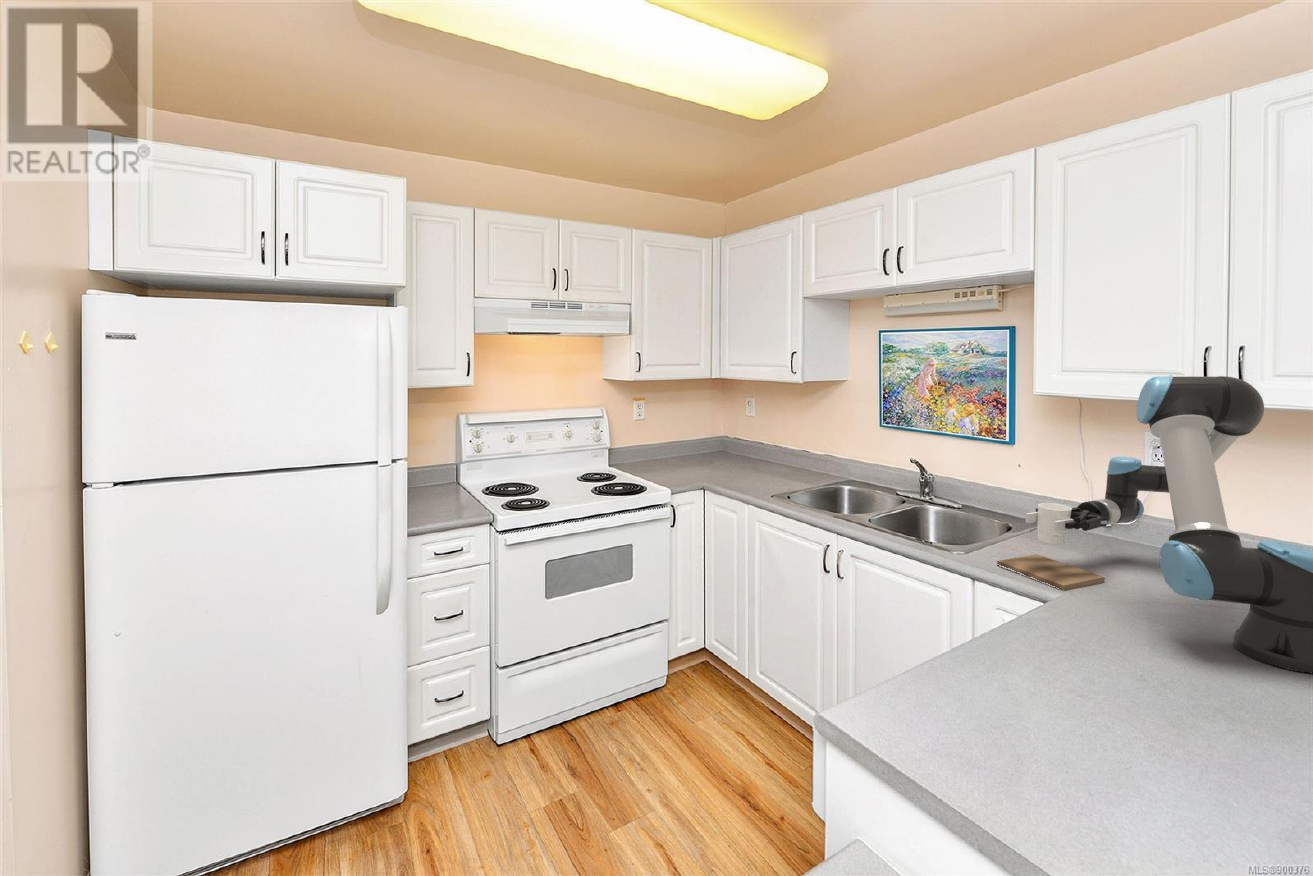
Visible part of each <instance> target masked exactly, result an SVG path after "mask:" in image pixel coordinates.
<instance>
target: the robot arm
mask: <svg viewBox="0 0 1313 876" xmlns="http://www.w3.org/2000/svg"><path fill="white" fill-rule="evenodd" d="M1138 395H1139V396H1138V400H1137V404H1136V405H1137V406H1136V419H1137V421H1138V422H1139V423H1140V424H1144V425H1147V424H1148V426H1149V431H1150V433H1151V435H1152V436H1154V437H1156V438H1159V441H1160V442H1159V443H1160V445H1161V446H1160V447H1161V452H1162V457H1163V463H1164V465H1163V466H1161V465H1147V464H1145V465H1144V464H1142V460H1141V459H1139V458H1136V457H1130V456H1128V457H1127V456H1114V457H1111V458H1110V460H1109V463H1108V466H1107V471H1106V474H1107V475H1106V486H1105V493H1104V494H1105V495H1104V498H1103V499H1102V498H1101V499H1095V500H1088V501H1084V502H1082V503H1081V502H1080V504H1078V506H1077V507H1071V508H1072V511H1071V517H1070V519H1065V520H1059V521H1054V529H1053V531H1062V530H1068V531H1069V530H1073V529H1075V530H1080V529H1081V530H1082V531H1084V532H1088V531H1091V530H1094V529H1097V528H1103V527H1104V528H1105V527H1107V526H1111V525H1117V524H1125V523H1126V524H1127V523H1129V522H1134V521H1136V520H1139V519H1140V518H1141V517H1142V516H1143V514H1144V512H1145V507H1144V504H1143V502H1142V501H1141V500H1140V499H1139V498H1138V494H1139V492H1154V493H1155V492H1157V493H1166V494H1167V493H1169V497H1170V498H1169V499H1170V503H1171V509H1172V516H1173V522H1174V526H1175V527H1174V528H1175V530H1174V531H1173V532H1172V533H1170V534H1169V535H1168V541H1166V542H1164V543H1163V544H1162V545H1161V546H1160V550H1159V556H1160V557H1159V567H1160V571H1161V573H1162V576H1163V578H1164V581H1165V583H1166V585H1167V586H1168V588H1170V589H1171V591H1172V592H1174V593H1176V594H1177V595H1178V596H1181V597H1187V598H1192V599H1198V600H1200V601H1218V602H1223V603H1224V602H1225V603H1227V602H1228V603H1235V604H1236V603H1237V604H1245V605H1249V610H1248V613H1247V614H1246V616H1245V617H1244V619H1243V621H1242V622H1241V624H1240V626H1239V627H1238V628H1237V629H1236V631H1234V634H1233V641H1232V644H1233V647H1235V649H1236V650H1238V651H1239V652H1241V653H1242V654H1244V655H1246V656H1248V657H1250V658H1252V659H1254V660H1257V661H1259V662H1262V663H1265V664H1268V665H1271V664H1272V665H1271V666H1274V665H1276V666H1275V667H1277V666H1280V667H1279V668H1281V667H1282V669H1285V668H1289V669H1292V670H1291V671H1293V670H1296V671H1295V672H1298V671H1300V672H1299V673H1304V672H1309V673H1308V674H1312V673H1311V672H1313V548H1312V549H1311V548H1309V547H1304V546H1301V545H1298V544H1292V543H1288V542H1283V541H1277V540H1270V539H1268V540H1266V539H1265V540H1260V541H1259V542H1258V543H1257V545H1256V547H1257V548H1256V547H1245V546H1244V547H1243V546H1242V542H1241V537H1240V535H1239V533H1237V532H1235V531H1234V530H1232V529H1230V528H1229V527H1228V522H1227V518H1226V512H1225V508H1224V503H1223V499H1222V494H1221V489H1220V484H1219V480H1218V475H1217V471H1216V466H1215V465H1216V464H1215V463H1216V462H1217V461H1219V459H1220V458H1221V457H1222V456H1223V455H1224V454H1225V453H1226V452H1227V450H1229V448H1230V447H1231V446H1232V445H1233V444H1234V443H1235V442H1236V441H1237V440H1238V439H1239V438H1240V437H1243V436H1247V435H1249V434H1250V433H1251V432H1253V431H1254V430H1255V429H1256V428H1257V426H1259V425H1260V422H1261V421H1262V420H1263V417H1264V413H1265V403H1264V400H1263V397H1262V396H1261V393H1260V391H1258V390H1257V389H1256V388H1255V386H1253V385H1252V384H1250V383H1248V382H1247V381H1245V380H1243V379H1240V378H1238V377H1232V376H1224V375H1222V376H1221V375H1220V376H1173V375H1168V376H1166V375H1164V376H1154V377H1153V376H1152V377H1151V378H1149V379H1147V381H1145V383H1144V384H1143V386H1142V388H1141V391H1140V392H1139V394H1138ZM1032 523H1038V507H1037V508H1035V512H1034V511H1033V512H1029V513H1027V512H1026V513H1025V524H1032ZM1289 669H1288V670H1289Z"/></svg>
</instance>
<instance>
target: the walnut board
mask: <svg viewBox="0 0 1313 876" xmlns="http://www.w3.org/2000/svg"><path fill="white" fill-rule="evenodd" d="M997 564H999V565H1001V566H1004V567H1006V568H1010V569H1012V570H1014V571H1016V572H1020V573H1022V574H1024V575H1026V576H1028V577H1033V578H1035V579H1037V580H1039V581H1041V582H1045V583H1048V584H1050V585H1052V586H1055V587H1057V588H1059V589H1061V590H1060V591H1062V590H1065V591H1069V590H1075V589H1079V588H1083V587H1088V586H1093V585H1099V584H1102V583H1105V581H1106V580H1105V579H1106V577H1105V576H1103V575H1100V574H1097V573H1094V572H1091V571H1088V570H1085V569H1082V568H1079V567H1076V566H1074V565H1073V566H1072V565H1070V564H1067V563H1064V562H1061V561H1058V560H1055V559H1053V558H1049V557H1046V556H1043V555H1040V554H1038V553H1035V554H1030V555H1023V556H1017V557H1013V558H1007V559H1001V560H997V561H996V565H997ZM1028 577H1027V578H1028ZM1041 582H1040V583H1041ZM1052 586H1051V587H1052ZM1057 588H1056V589H1057ZM1059 589H1058V590H1059Z"/></svg>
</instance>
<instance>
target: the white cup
mask: <svg viewBox="0 0 1313 876" xmlns="http://www.w3.org/2000/svg"><path fill="white" fill-rule="evenodd" d="M1037 508H1038V522H1037V525H1036V527H1037V540H1038V541H1039V542H1042V543H1045V544H1050V545H1065V544H1066V543H1067V535H1068V534H1069V529H1068V530H1062V531H1053V529H1054V521H1059V520H1065V519H1070V517H1071V511H1072V508H1073V507H1070V506H1069V505H1065V504H1062V503H1061V504H1060V503H1053V502H1042V503H1039V504H1037Z"/></svg>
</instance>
